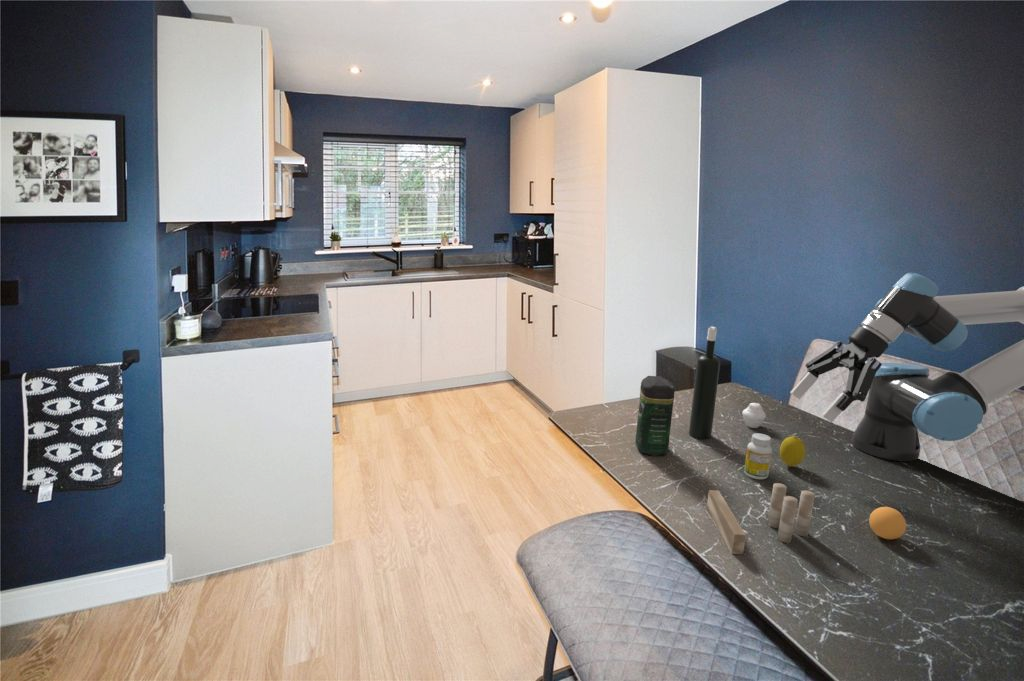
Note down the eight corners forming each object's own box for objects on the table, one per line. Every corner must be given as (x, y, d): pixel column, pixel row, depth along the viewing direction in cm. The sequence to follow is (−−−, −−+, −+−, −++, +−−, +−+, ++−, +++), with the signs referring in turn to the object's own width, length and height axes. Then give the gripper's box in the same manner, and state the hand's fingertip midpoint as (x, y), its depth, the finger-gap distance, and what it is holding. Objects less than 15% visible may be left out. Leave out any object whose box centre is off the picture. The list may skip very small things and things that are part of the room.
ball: (891, 528, 117) (896, 501, 115) (909, 546, 111) (916, 518, 109) (860, 527, 117) (865, 500, 115) (877, 545, 111) (883, 516, 110)
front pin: (804, 529, 115) (811, 490, 113) (810, 536, 113) (817, 497, 111) (792, 529, 116) (798, 490, 113) (797, 536, 113) (804, 496, 111)
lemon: (805, 473, 139) (810, 442, 137) (780, 470, 140) (785, 439, 138) (799, 462, 144) (804, 432, 142) (775, 460, 145) (779, 430, 143)
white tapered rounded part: (761, 423, 169) (765, 400, 167) (766, 431, 163) (769, 407, 161) (739, 420, 170) (742, 398, 168) (742, 429, 164) (746, 405, 162)
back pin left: (787, 535, 113) (794, 496, 111) (793, 543, 111) (800, 502, 109) (775, 535, 113) (781, 495, 111) (780, 542, 111) (787, 502, 109)
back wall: (716, 507, 122) (718, 490, 121) (742, 554, 107) (745, 534, 106) (706, 507, 122) (708, 490, 121) (731, 553, 107) (734, 534, 106)
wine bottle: (685, 430, 161) (697, 324, 154) (705, 430, 162) (718, 324, 154) (693, 439, 156) (706, 329, 148) (714, 439, 157) (728, 329, 149)
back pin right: (777, 521, 118) (783, 483, 116) (782, 528, 116) (788, 489, 114) (765, 521, 118) (771, 482, 116) (770, 527, 116) (776, 488, 114)
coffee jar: (671, 457, 145) (679, 386, 140) (639, 456, 145) (645, 385, 140) (663, 441, 154) (670, 373, 150) (632, 439, 154) (638, 372, 150)
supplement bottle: (763, 482, 134) (769, 443, 131) (740, 474, 137) (745, 436, 135) (771, 474, 138) (777, 436, 135) (748, 467, 141) (753, 430, 139)
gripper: (831, 312, 143) (772, 379, 148) (901, 341, 119) (829, 420, 124) (852, 329, 145) (793, 395, 149) (925, 361, 121) (853, 438, 125)
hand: (809, 407), depth 136 cm, fingers open, 13 cm apart
